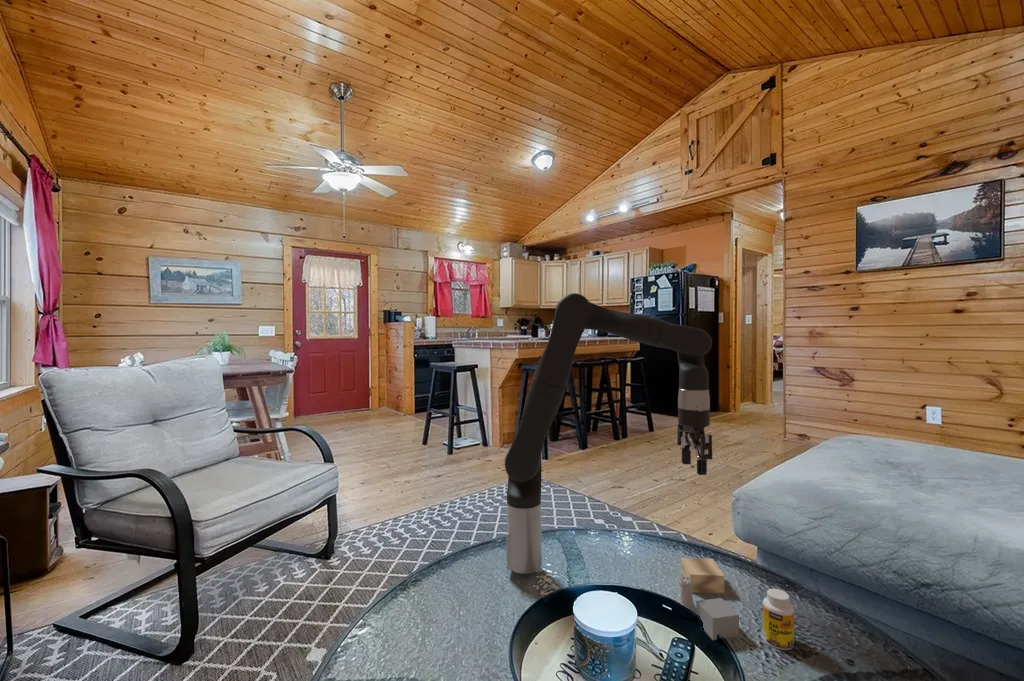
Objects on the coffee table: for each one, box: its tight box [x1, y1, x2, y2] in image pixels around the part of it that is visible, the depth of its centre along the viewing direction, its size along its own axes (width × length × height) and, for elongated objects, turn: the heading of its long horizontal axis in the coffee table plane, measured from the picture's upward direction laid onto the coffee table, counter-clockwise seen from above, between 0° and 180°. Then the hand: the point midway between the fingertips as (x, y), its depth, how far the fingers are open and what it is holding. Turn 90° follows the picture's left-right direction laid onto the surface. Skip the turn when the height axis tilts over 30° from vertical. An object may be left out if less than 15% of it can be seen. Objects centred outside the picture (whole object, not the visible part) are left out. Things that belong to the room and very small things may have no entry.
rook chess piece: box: [677, 576, 696, 612], centre depth 101 cm, size 4×4×8 cm
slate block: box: [695, 597, 740, 641], centre depth 96 cm, size 6×6×5 cm
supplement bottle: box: [762, 588, 795, 651], centre depth 92 cm, size 6×6×10 cm
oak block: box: [680, 557, 725, 594], centre depth 113 cm, size 8×8×5 cm
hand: (693, 469), depth 115 cm, fingers open, 8 cm apart
